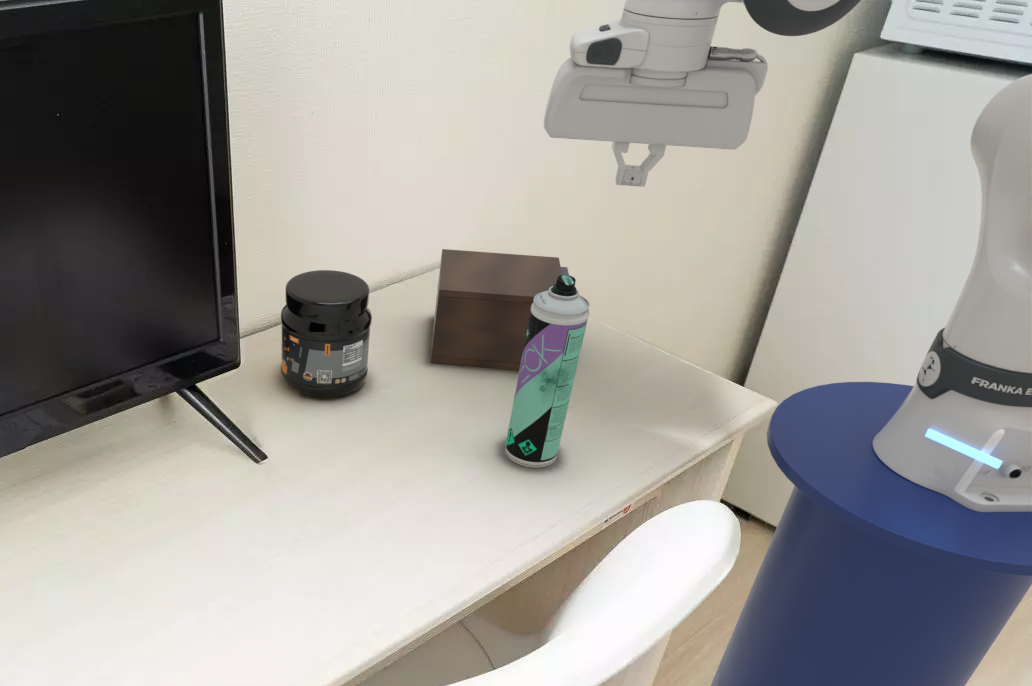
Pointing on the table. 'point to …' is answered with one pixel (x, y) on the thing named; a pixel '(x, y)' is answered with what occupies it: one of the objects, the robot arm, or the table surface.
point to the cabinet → (487, 306)
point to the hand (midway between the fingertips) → (629, 184)
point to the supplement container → (325, 333)
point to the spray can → (546, 374)
